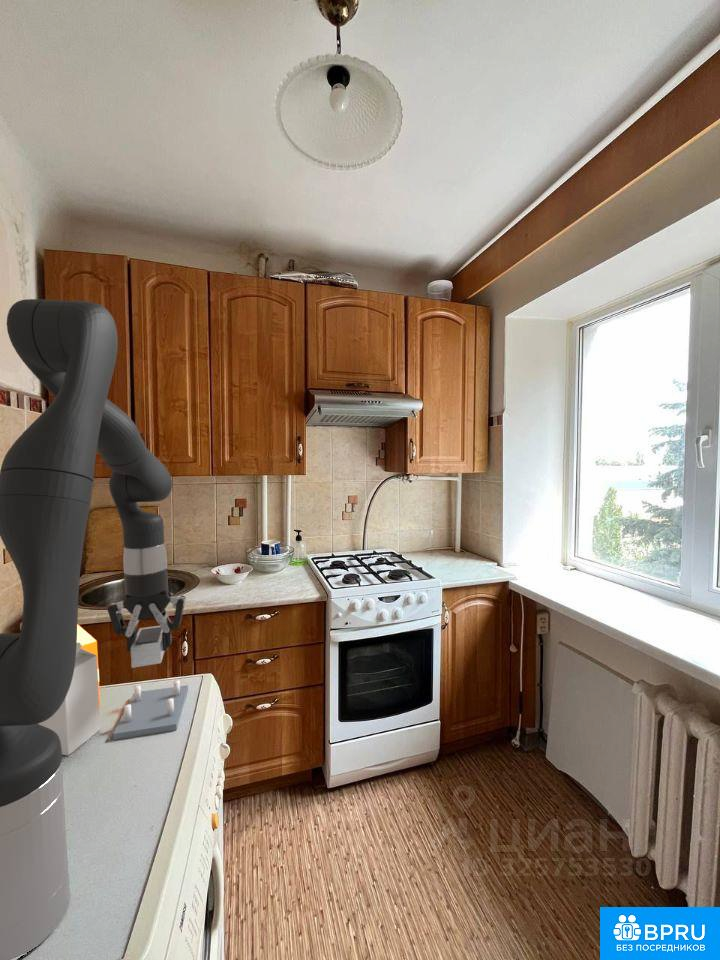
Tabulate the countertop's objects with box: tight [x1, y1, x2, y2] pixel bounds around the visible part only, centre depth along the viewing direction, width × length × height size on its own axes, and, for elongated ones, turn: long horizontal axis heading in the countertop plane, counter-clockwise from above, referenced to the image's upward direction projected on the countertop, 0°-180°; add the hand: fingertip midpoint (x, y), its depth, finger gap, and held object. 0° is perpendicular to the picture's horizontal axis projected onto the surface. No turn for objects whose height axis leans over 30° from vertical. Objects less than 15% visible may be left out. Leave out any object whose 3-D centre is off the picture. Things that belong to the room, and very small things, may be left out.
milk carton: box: [38, 642, 101, 756], centre depth 77 cm, size 7×7×19 cm
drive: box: [130, 625, 165, 669], centre depth 82 cm, size 9×5×4 cm, turn 18°
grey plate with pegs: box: [112, 679, 189, 741], centre depth 85 cm, size 14×11×4 cm
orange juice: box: [77, 623, 101, 708], centre depth 86 cm, size 8×9×20 cm
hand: (150, 650), depth 83 cm, fingers closed on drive, 5 cm apart
